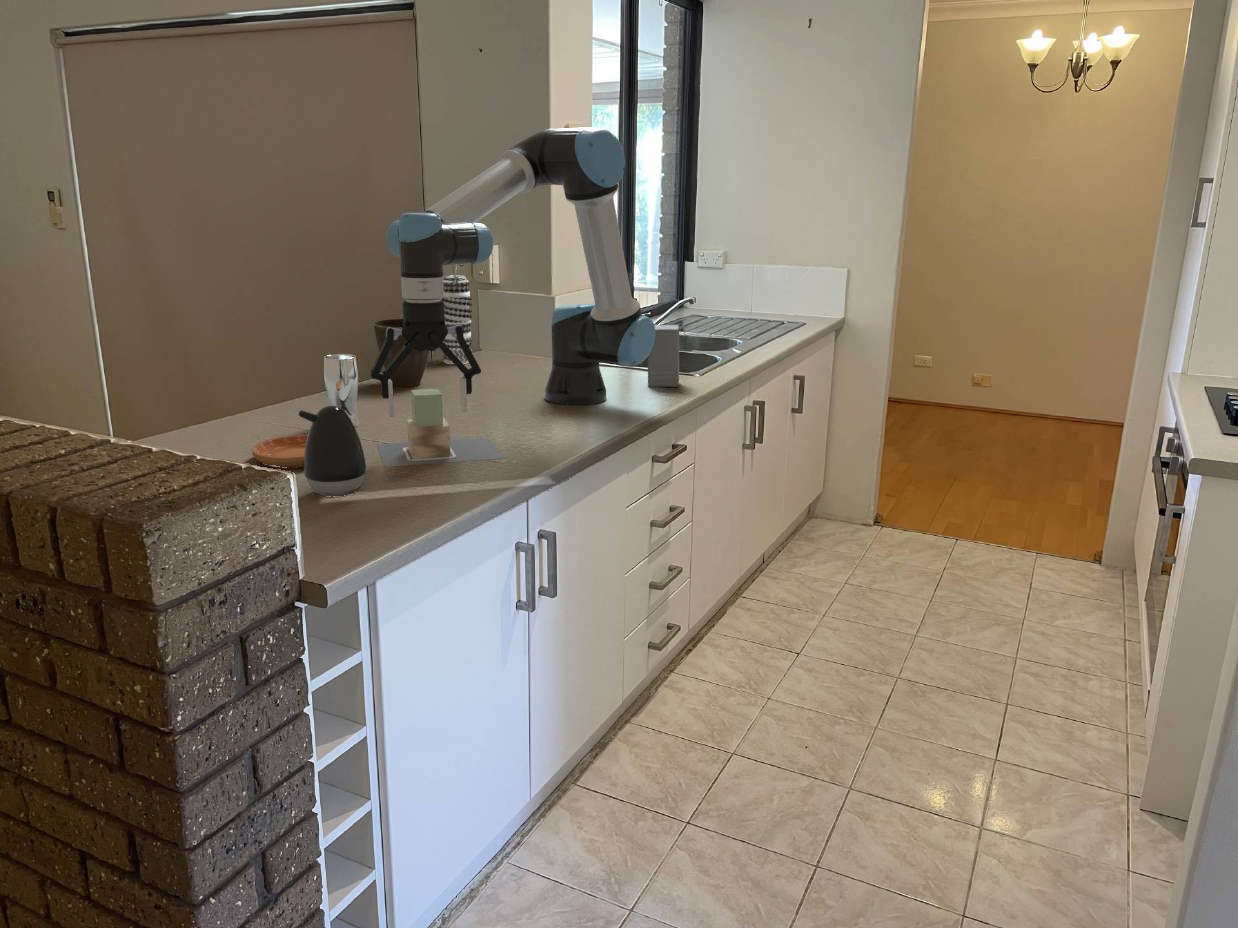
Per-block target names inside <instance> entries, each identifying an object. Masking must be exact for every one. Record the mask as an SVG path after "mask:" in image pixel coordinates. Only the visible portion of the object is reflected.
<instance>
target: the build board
mask: <svg viewBox="0 0 1238 928" xmlns="http://www.w3.org/2000/svg"><path fill="white" fill-rule="evenodd" d="M376 446H377V450H378V452H379V454H380V457H381V461H382V463H383V466H384V468H392V467H394V468H395V467H405V466H406V467H407V466H418V465H419V466H421V465H431V464H432V465H433V464H448V463H461V462H474V461H485V460H486V461H487V460H488V461H489V460H499V459H500V460H501V459H504V457H503V455H502V454H501V453H500V452H499V450H498V449H497V448H496V446H495V445H494V444H493V442H492V441H491V440H490V439H489V438H488V436H482V437H479V436H478V437H469V438H467V437H466V438H450V457H440V458H426V459H413V458H412V456H411V454H410V452H409V449H408V441H405V442H391V443H377V444H376Z"/></svg>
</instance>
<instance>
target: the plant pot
mask: <svg viewBox="0 0 1238 928" xmlns="http://www.w3.org/2000/svg"><path fill="white" fill-rule="evenodd" d="M389 326H390V327H392V328H398V329H402V327H403V318H389V319H388V318H387V319H382V320H381V319H380V320H377V321H375V322H373V330H374V334H375V339H376V343H377V347H378V351H379V352H380V350H381V347H382V345H383V343H384V341H385V339H386V328H387V327H389ZM405 343H406V340H405V339H404V337H403V336H402V335H399V336H398V338H397V339H396V340H393V344H392V347H391V349H390V351H389V353H388V356H387V358H386V360H385V362H384V364H383V366H384V370H385V369H386V367H387V366H388V365H389V364H390V362H391V361H392V360H393V359H394V357H395V356H396V355H397V354H398V352H399V351H400V350H401V348H402V346H403V345H404V344H405ZM379 352H378V353H379ZM429 353H430V351H428V350H425V351H420V352H418V351H416V350H414V349H413V350H412V351H411V353H410V354H409V355H408V356H407V357H406V358H405V359H404V361H403V362H402V363H401V364H400V366H399V367H398V368H397V370H396V371H395V372H394V373H393V375H392V376H391V377H390V378H389V379H391V381H392V385H393V386H395V387H414V386H418V385H420V384H421V383H422V379H423V376H424V373H425V369H426V367H427V366H426V365H427V362H428V358H429Z"/></svg>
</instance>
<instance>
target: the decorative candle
mask: <svg viewBox="0 0 1238 928" xmlns="http://www.w3.org/2000/svg"><path fill="white" fill-rule="evenodd" d="M443 288H444V297H443V298H442V299H441V301H443V303H444V312H445V325H446V327H452V326H455V325H456V324H458V325H460V326H461V327H462V329H463V336H464V339H465V341H466V343H467V345H468V347H469V348H470V350H471V352H472V353H473V349H472V348H471V347H472V346H473V343H471V342H472V341H473V338H472V332H471V323H472V320H471V319H472V318H473V315H472V314H470V313H472V312H473V310H472V309H470V307H471V306H473V303H472V302H471V301H472V300H473V298H472V297H471V295H470V293H471V291H470V280H468V279H467V277H466V276H465V275H461V274H447V275H445V276H444V277H443ZM443 343H444V344H445V345H446V346H447V347H448V348H449V349H450V350H451V351H452V353H453V354H454V355H455V356H456V357H457V358H458V359H459V360H460V361H461V362H462V363H463V364H464V365H468V364H467V363H469V362H468V360H467V358H466V356H465V355H464V353H463V351H462V349H461V347H460V345H459V344H458V342H457V340H456V338H454V337H452V336H451V334H450V333H448V334H447V336H446V337H445V339H444V340H443ZM442 353H443V356H442V357H443V359H444V360H443V363H444V362H445V363H444V364H446V365H453V364H454V363H453V362H452V361H451V360H450V359H449V358H448V357H447V356H446V354H445V353H444V352H443V351H442Z"/></svg>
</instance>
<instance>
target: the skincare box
mask: <svg viewBox="0 0 1238 928" xmlns="http://www.w3.org/2000/svg"><path fill="white" fill-rule="evenodd" d="M654 326H655V340H654V344H653V347H652V349H651V352H650V354H649V355H648V357H647V386H648V388H649V387H650V388H651V387H652V388H656V387H657V388H678V387H679V382H680V325H679V324H665V325H664V324H663V325H662V324H660V325H659V324H658V325H657V324H654Z"/></svg>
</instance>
